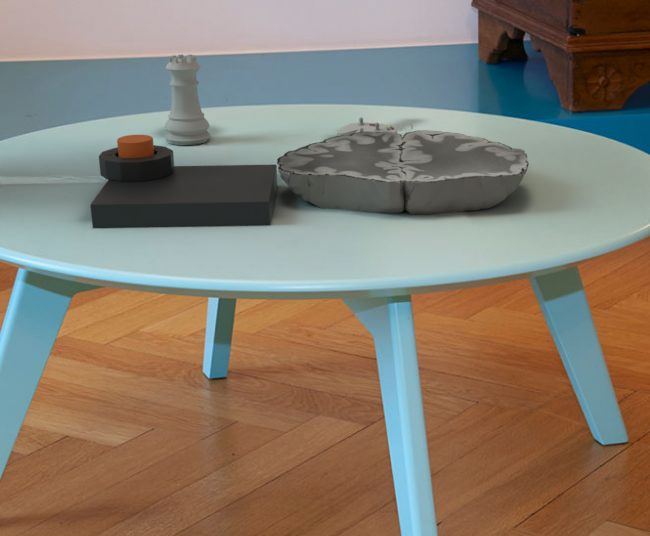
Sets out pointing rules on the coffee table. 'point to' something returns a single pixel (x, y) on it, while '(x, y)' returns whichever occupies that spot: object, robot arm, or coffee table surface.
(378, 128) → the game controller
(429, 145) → the brain slice
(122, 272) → the coffee table surface
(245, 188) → the scale
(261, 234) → the coffee table surface
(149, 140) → the button
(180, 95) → the rook chess piece
